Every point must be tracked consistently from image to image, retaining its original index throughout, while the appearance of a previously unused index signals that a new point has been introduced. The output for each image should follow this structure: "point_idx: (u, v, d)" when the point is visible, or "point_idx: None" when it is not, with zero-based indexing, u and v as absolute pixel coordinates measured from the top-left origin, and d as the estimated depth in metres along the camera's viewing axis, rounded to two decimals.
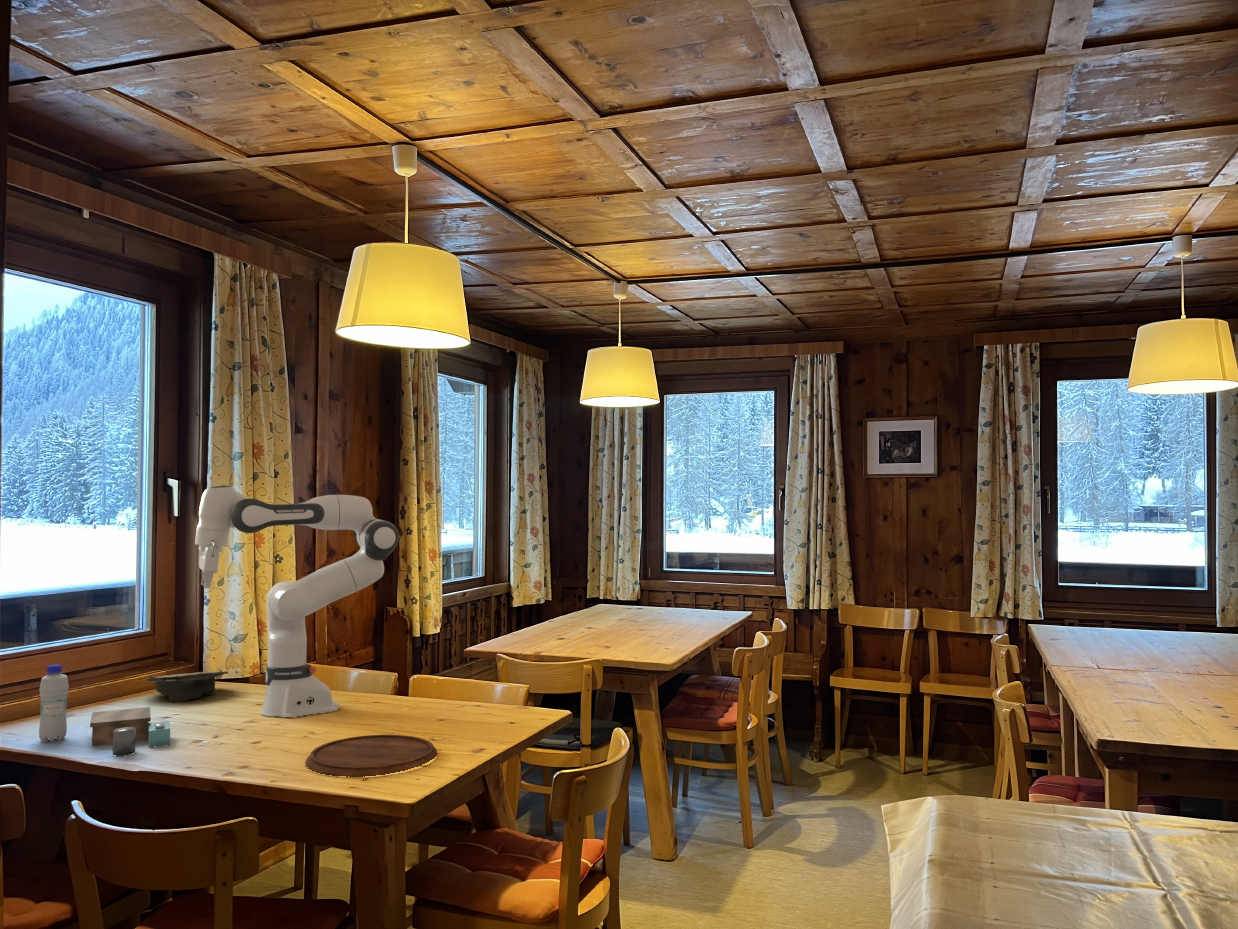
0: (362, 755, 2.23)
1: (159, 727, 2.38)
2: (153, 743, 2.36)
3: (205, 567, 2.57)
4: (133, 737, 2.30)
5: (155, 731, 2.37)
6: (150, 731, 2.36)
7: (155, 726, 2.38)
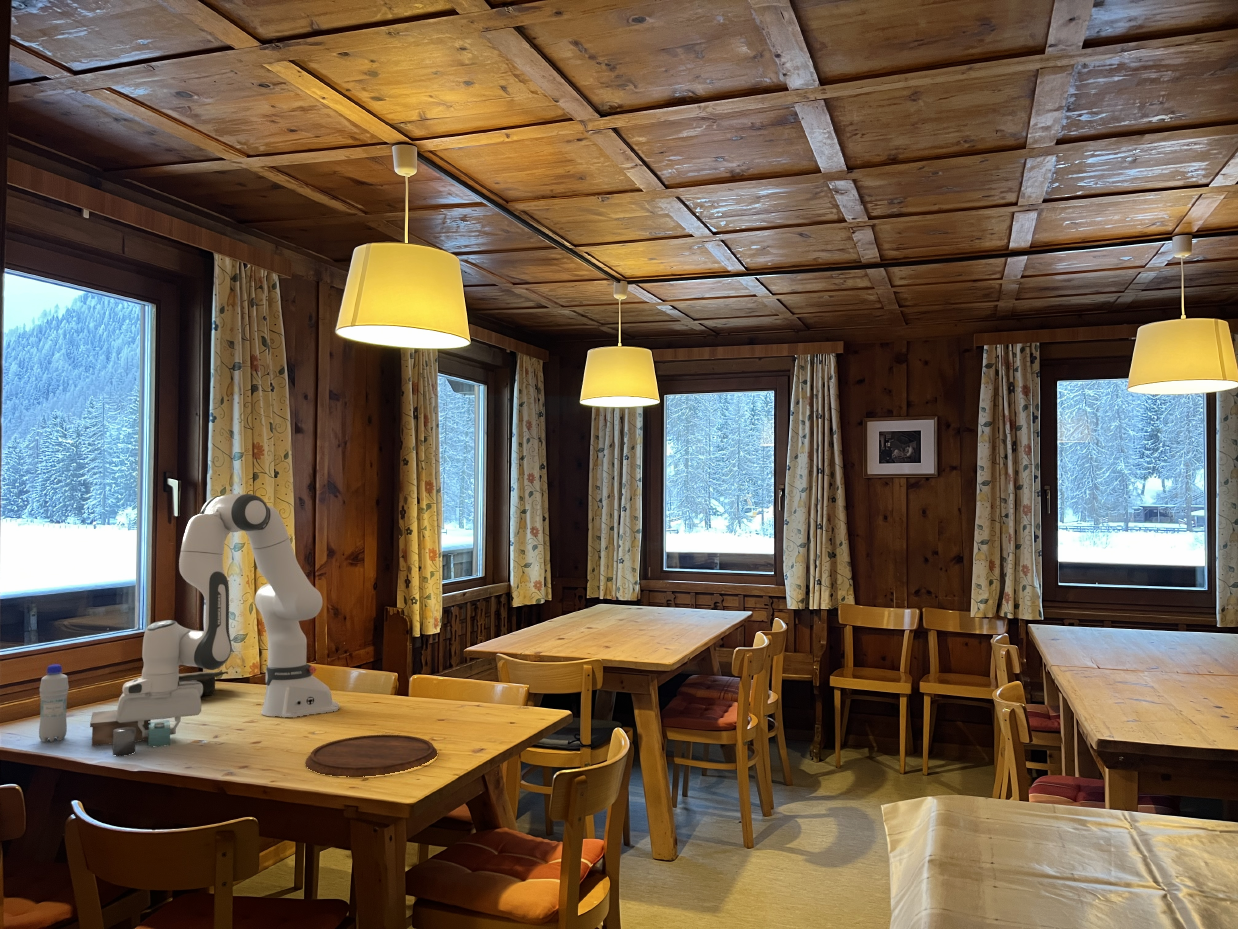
0: (362, 755, 2.23)
1: (159, 726, 2.38)
2: (153, 742, 2.36)
3: (200, 709, 2.44)
4: (133, 737, 2.30)
5: (155, 730, 2.37)
6: (150, 730, 2.36)
7: (155, 725, 2.38)
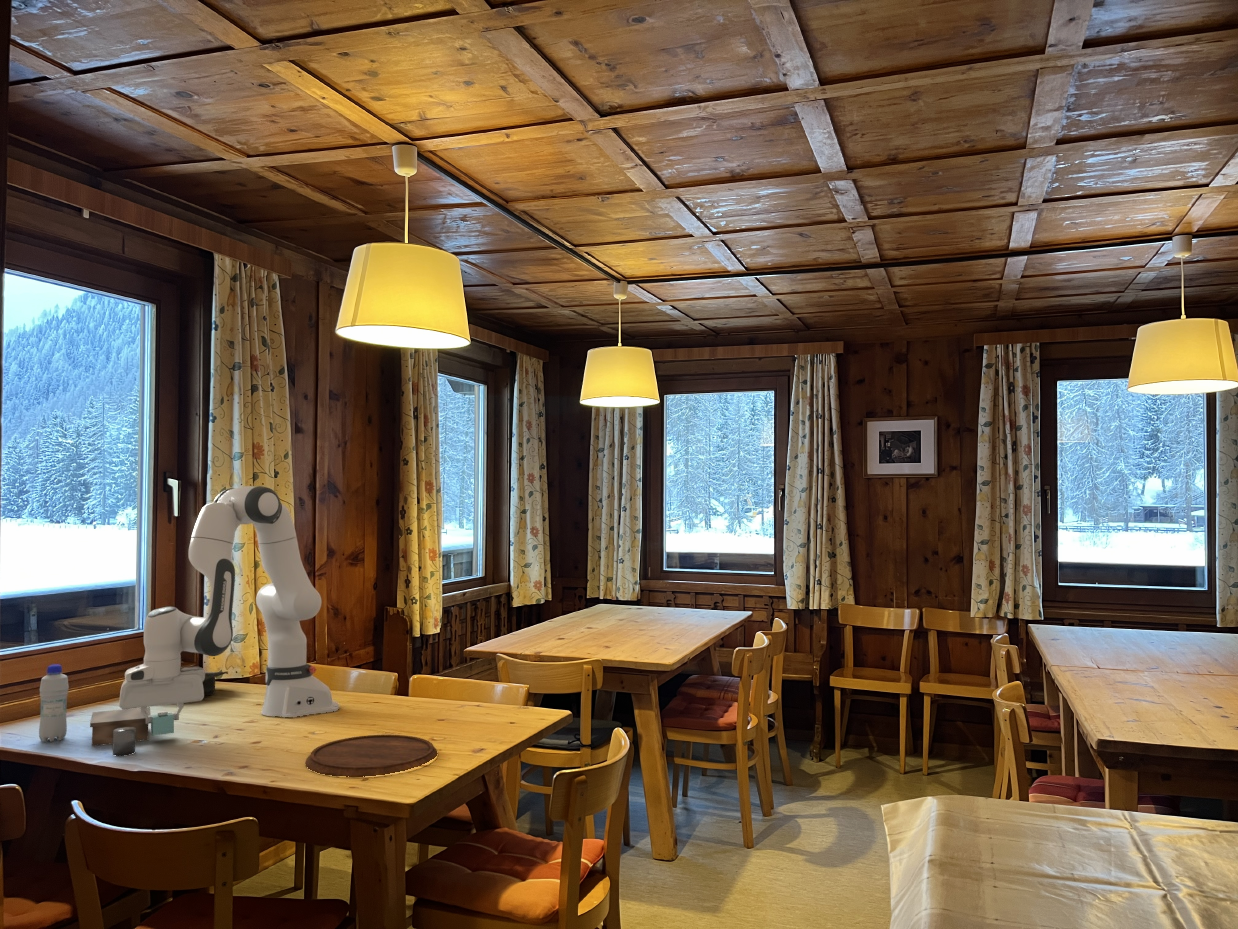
0: (362, 755, 2.23)
1: (162, 715, 2.39)
2: (157, 730, 2.37)
3: (203, 694, 2.45)
4: (133, 737, 2.30)
5: (159, 718, 2.37)
6: (154, 718, 2.37)
7: (158, 714, 2.39)
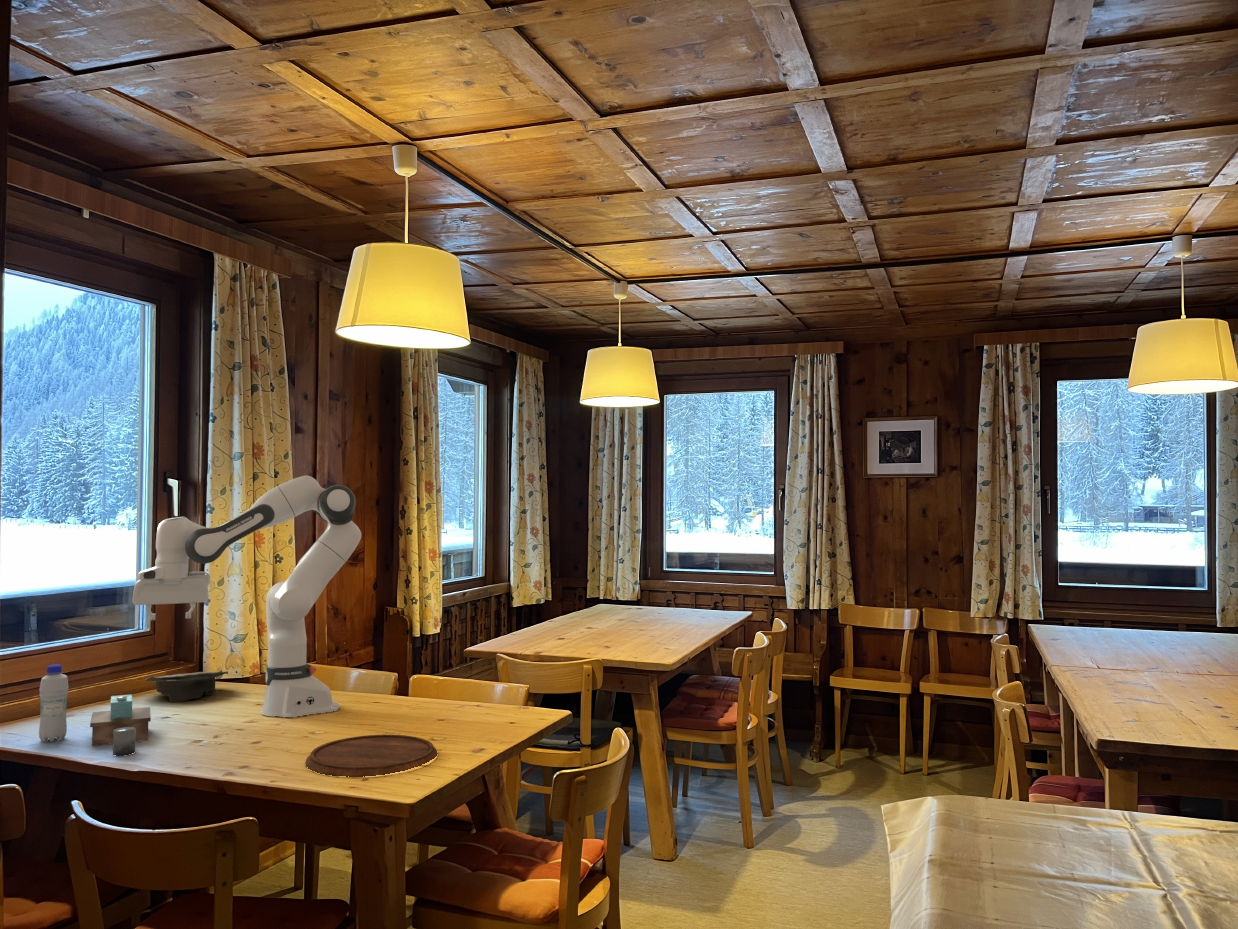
0: (362, 755, 2.23)
1: (121, 699, 2.42)
2: (115, 715, 2.41)
3: (208, 596, 2.71)
4: (133, 737, 2.30)
5: (117, 703, 2.41)
6: (112, 703, 2.40)
7: (117, 698, 2.43)
